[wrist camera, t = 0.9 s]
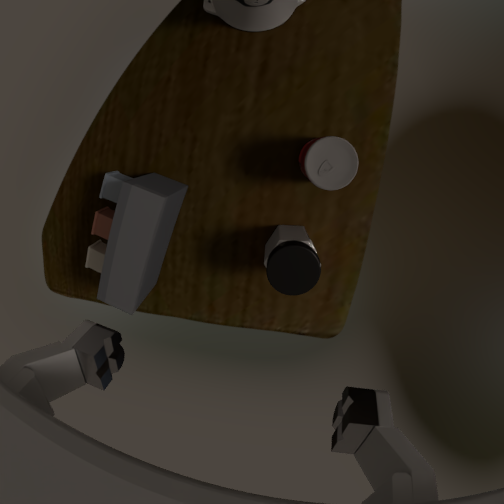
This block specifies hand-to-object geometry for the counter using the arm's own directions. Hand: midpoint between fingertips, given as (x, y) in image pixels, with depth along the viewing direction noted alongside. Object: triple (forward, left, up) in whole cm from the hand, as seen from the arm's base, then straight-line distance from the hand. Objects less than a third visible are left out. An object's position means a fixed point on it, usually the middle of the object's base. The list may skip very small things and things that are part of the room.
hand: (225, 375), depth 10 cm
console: (+5, -21, -47) cm, 52 cm away
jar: (+11, +4, -47) cm, 48 cm away
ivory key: (+8, -30, -43) cm, 53 cm away
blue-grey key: (-4, -23, -43) cm, 49 cm away
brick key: (+2, -26, -43) cm, 51 cm away
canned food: (-4, +11, -47) cm, 48 cm away
